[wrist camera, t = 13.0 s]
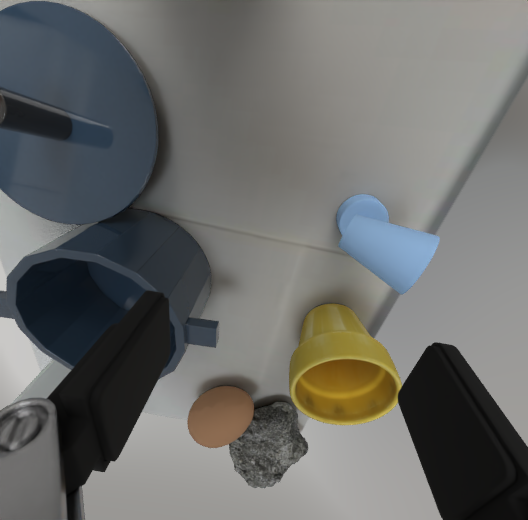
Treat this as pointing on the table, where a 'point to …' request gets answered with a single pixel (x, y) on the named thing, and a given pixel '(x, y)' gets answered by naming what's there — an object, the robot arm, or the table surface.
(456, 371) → the robot arm
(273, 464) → the rock
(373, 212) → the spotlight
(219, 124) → the table surface
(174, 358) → the pot
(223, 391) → the egg
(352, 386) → the flower pot
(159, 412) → the table surface
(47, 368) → the white packaging box
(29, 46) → the pot lid
